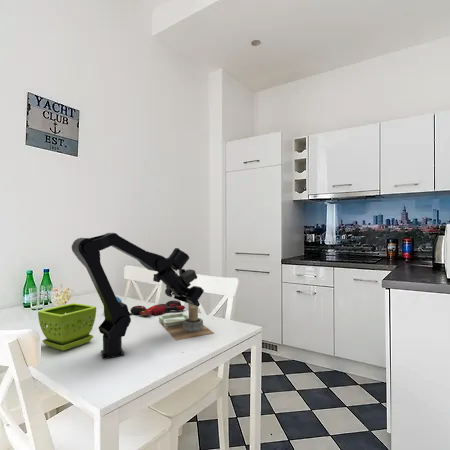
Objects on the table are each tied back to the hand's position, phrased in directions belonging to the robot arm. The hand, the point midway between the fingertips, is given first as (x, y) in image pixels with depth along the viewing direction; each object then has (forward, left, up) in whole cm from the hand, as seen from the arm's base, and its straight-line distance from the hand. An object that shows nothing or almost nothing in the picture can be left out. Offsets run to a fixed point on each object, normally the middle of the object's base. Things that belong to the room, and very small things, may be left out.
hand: (196, 304), depth 123 cm
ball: (+41, +26, -10) cm, 50 cm away
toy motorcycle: (+32, +7, -11) cm, 34 cm away
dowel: (0, +1, -7) cm, 7 cm away
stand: (+3, +4, -10) cm, 11 cm away
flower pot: (+7, +45, -10) cm, 47 cm away
